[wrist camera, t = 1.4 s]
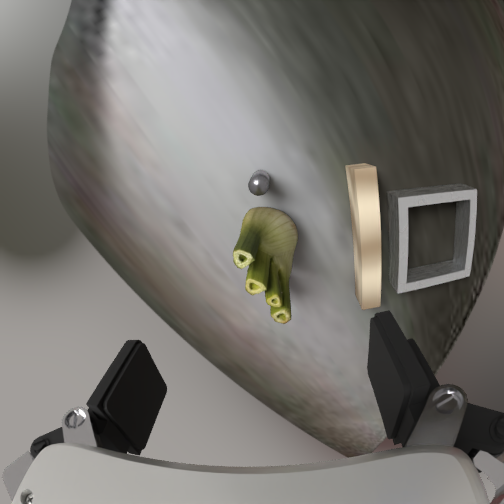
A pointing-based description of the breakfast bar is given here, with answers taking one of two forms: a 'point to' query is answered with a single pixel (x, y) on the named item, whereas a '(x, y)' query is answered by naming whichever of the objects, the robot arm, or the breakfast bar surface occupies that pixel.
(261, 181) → the pegs
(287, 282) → the fennel bulb
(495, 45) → the breakfast bar surface
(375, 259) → the door edge rail
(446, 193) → the frame
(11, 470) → the robot arm
